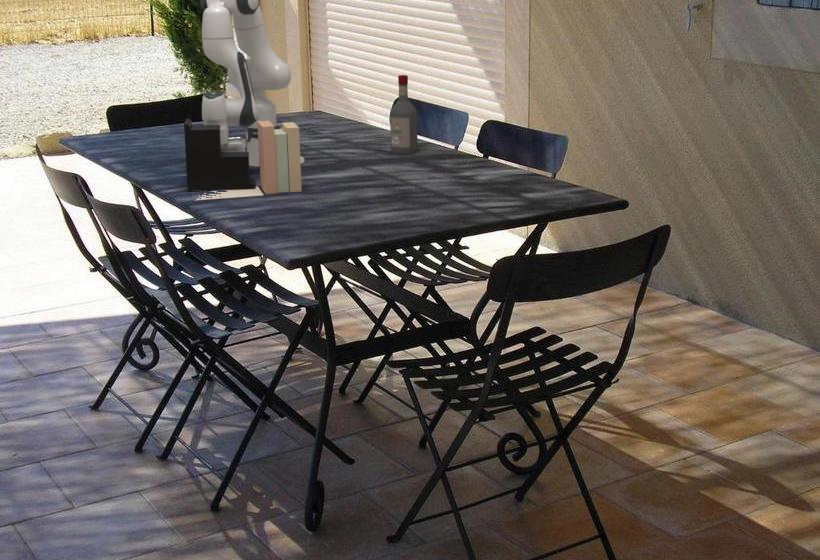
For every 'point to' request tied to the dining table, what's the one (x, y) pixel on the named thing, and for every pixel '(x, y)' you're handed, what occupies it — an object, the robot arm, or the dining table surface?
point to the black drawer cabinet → (213, 161)
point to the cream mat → (233, 193)
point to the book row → (279, 157)
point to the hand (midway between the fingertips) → (218, 176)
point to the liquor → (403, 122)
